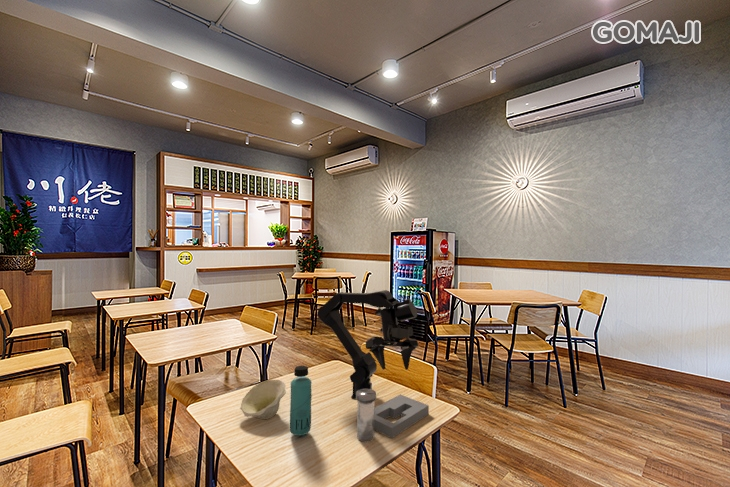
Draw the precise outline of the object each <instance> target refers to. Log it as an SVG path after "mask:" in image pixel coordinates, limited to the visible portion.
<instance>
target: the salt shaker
mask: <svg viewBox="0 0 730 487" xmlns="http://www.w3.org/2000/svg"><path fill="white" fill-rule="evenodd" d="M355 400H356V401H357V403H356V404H357V408H356V409H357V412H356V413H357V415H356V416H357V417H356V418H357V419H356V439H357V440H358V441H360V442H363V443H369V442H372V441H373V440H374V437H375V429H374V408H375V401H376V400H377V392H376V390H374V389H373V388H372V389H360V390H358V391H357V392H356V398H355Z"/></svg>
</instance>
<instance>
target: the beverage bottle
mask: <svg viewBox="0 0 730 487" xmlns="http://www.w3.org/2000/svg"><path fill="white" fill-rule="evenodd" d="M293 375H294V376H295V378H293V379H292V380H291V381H290V402H289V403H290V410H289V432H290V434H292V435H294V436H304V435H306V434H308V433H310V431H311V429H312V397H313V394H312V384H313V383H312V380H311V378H309V377H308V375H309V368H308V366H306V365H298V366H296V367H294V374H293Z"/></svg>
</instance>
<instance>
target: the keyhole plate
mask: <svg viewBox="0 0 730 487" xmlns="http://www.w3.org/2000/svg"><path fill="white" fill-rule="evenodd" d="M429 407H430V406H429V405H428V404H427V403H424V402H421V401H418V400H415V399H414V398H411V397H408V396H405V395H403V394H398V395H397V396H394V397H393V398H390V399H388V400H386V401H385V402H383V403H381V404H379V405H377V406H374V431H376V432H379V433H380V434H382V435H384V436H387V437H388V438H390V439H393V438H395V437H397V436H398V435H399V434H401V433H402V432H404V431H405V430H407V429H408V428H410V427H411V426H413V425H414V424H416V423H417V422H419V421H421V420H422V419H424V418H425V417H427V416H428V415H429V413H430V412H429V410H430V408H429ZM400 416H401V418H399V419H397V420H396V421H395V422H392V421H390V420H387V418H389V417H390V418H392V419H396V418H398V417H400Z"/></svg>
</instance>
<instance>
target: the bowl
mask: <svg viewBox="0 0 730 487" xmlns="http://www.w3.org/2000/svg"><path fill="white" fill-rule="evenodd" d="M286 394H287V390H286V383H285V381H282V380H279V379H267V380H264V381H262V382H260V383H259V382H258V383H257V384H255V385H254V386H252V388H250V389H249V391H247V393H246V394H245V395H244V396H243V398H242V399H241V403H240V407H239V409H240V410H241V412H242V413H243V415H244V417H247V418H248V417H253V418H255V417H256V418H258V419H260V418H261V419H260V420H266V419H271V418H272V417H273V416H275V415H276V414H277V413H278V411H279V408H280V404H281V403H280V402H281V399H282V398H283V397H284V396H285V395H286Z"/></svg>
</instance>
